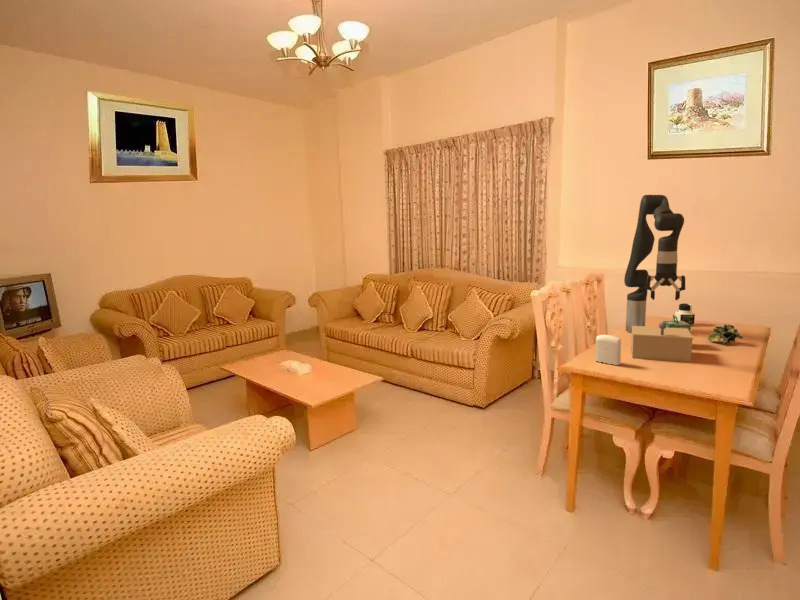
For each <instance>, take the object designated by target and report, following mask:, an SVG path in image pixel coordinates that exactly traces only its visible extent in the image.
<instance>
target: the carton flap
mask: <svg viewBox="0 0 800 600" xmlns="http://www.w3.org/2000/svg"><path fill="white" fill-rule="evenodd" d="M632 332H633V336H642V337H659V338H677V339H692V340H693V339H694V336H693V335H692V332H691V331H690V332H689V330H688V329H687V328H667V325H666V323H664V322H662V321H661V322H660V323H659V324H658V326H646V325H645V326H632ZM632 332H631V333H632Z"/></svg>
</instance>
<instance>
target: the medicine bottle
mask: <svg viewBox="0 0 800 600" xmlns="http://www.w3.org/2000/svg"><path fill="white" fill-rule="evenodd" d="M692 309H693V305H692V304H690V303H679V304H678V311H677V310H675V312H674V313H675V315H674V316H676V317H677V319H678V321H684V322H687V323H689V324H691V327H693V328H694V327H695V319H696V317H695V316H696V314H695V313H694V312H692V311H693V310H692ZM675 320H676V318H675Z"/></svg>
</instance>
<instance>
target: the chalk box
mask: <svg viewBox="0 0 800 600" xmlns="http://www.w3.org/2000/svg"><path fill="white" fill-rule="evenodd" d="M675 318H676V320H675ZM672 319H673V320H662V321H663V322H664V323H666V325H667V328H687V329H688V330H689V332H690V333H691V324H689V323H687V322H684V321H678V319H677V317H676V316H675V315H674V314H672Z"/></svg>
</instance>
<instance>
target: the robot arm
mask: <svg viewBox="0 0 800 600" xmlns="http://www.w3.org/2000/svg"><path fill="white" fill-rule="evenodd" d="M669 203H670V202H669V199H668V197H667V196H666V195H664V194H644V195H643V196H642V197H641V200H640V203H639V209H638V216H637V218H638V219H637V222H636V223H637V224H636V229H635V233H634V237H633V241H632V245H631V251H630V252H631V253H630V257H629V261H628V264H627V267H626V269H625V270H626V271H625V273H624V281H623V282H624V286H626V287H627V288H637V289H636V290H634V291H632V292H630V293H628V294H626V316H625V319H626V320H625V331H626V332H628V333H632V326H646V317H647V300H648V299H647V298H648V290H649V291H650V298H651V299H652V300H653V301H655V297H656V291H655V290H656V289H657V288H658V287H659V286H660V287H666V286H667V287H671V286H672V287H673V288H674V289H675V297H674V298H675V299H674V300H675V301H678V300H680V298H681V292H682V291H685V290H686V276H685V275H678V274H677V273H678V272H677V271H678V259H679V257H678V245H679V237H680V235H681V231H682V229H683V226H684V223H685V217H684V215H682V214H681V213H678V212H676V213H674V212H673V210H672V209H671V206H670V204H669ZM648 215H649V216H650V215H652V216H653V218H654V223H653V225H654V228H655V230H657V231H659V232H667V231H668V232H670V231H672V232H671V233H670V234H669V235H666V236H660V237H659V238H658V242H657V243H658V244H657V254H656V262H655V263H656V268H655V275H650V274H649V272H648V270H647V269H637V268H638V266H640V264H641V263H642V262H643V261H644V260H645V259H646V258H647V257H648V256H649V255H650V254H651V253H652V251H653V249H654V248H653V247H654V245H655V239H656V238H655V235H654V233H653V232H652V229H651V228H650V226H649V223H648V221H647V216H648ZM653 280H655V281H656V282H655V283H654V285H652V286H651V282H652V281H653ZM677 280H679V281H680V286H681V287H680V286H678V285H677V284H676V283H675V282H676V281H677Z"/></svg>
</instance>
